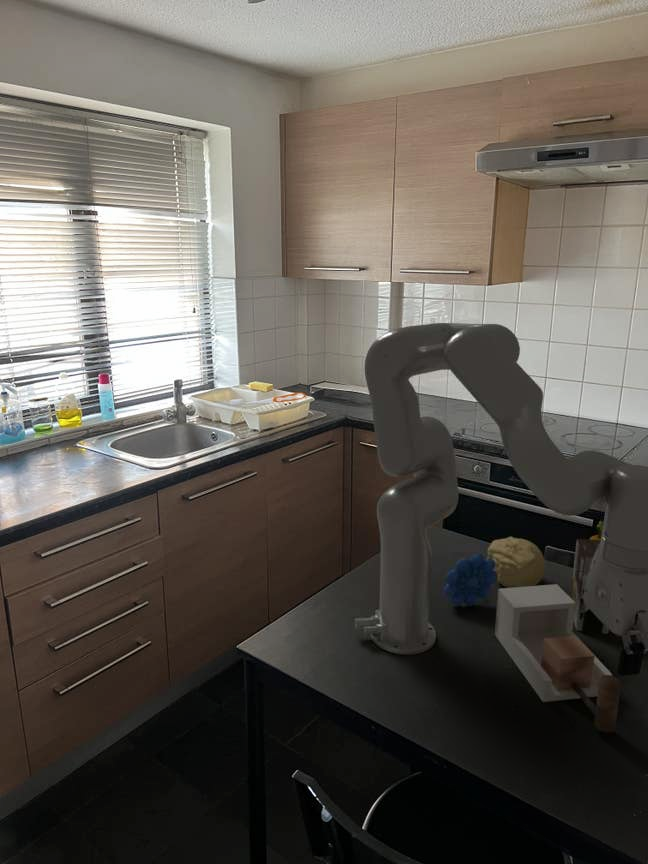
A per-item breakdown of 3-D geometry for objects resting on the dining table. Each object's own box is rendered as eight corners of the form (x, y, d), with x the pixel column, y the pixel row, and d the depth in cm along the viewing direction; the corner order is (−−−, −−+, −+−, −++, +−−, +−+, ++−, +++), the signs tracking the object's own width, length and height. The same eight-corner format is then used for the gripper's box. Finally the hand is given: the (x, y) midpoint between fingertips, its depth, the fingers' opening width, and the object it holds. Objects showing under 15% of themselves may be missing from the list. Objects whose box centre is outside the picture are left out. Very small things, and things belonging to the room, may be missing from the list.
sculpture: (478, 580, 147) (481, 537, 144) (511, 566, 154) (515, 524, 151) (519, 601, 138) (523, 555, 136) (552, 585, 145) (557, 541, 142)
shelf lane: (543, 701, 107) (548, 649, 105) (494, 634, 126) (498, 588, 124) (609, 694, 109) (616, 643, 106) (551, 629, 128) (556, 584, 125)
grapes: (487, 593, 142) (491, 543, 138) (499, 609, 135) (504, 557, 132) (436, 597, 140) (439, 546, 137) (446, 613, 134) (449, 561, 130)
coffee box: (610, 634, 126) (620, 560, 122) (575, 631, 128) (584, 556, 123) (600, 610, 135) (609, 539, 131) (568, 607, 136) (576, 537, 132)
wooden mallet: (591, 734, 98) (597, 689, 96) (540, 668, 114) (544, 628, 112) (627, 730, 99) (634, 685, 97) (572, 665, 115) (577, 625, 113)
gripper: (572, 526, 100) (557, 621, 105) (640, 583, 84) (619, 693, 89) (616, 524, 101) (599, 619, 106) (692, 580, 85) (668, 689, 90)
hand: (608, 652), depth 97 cm, fingers open, 9 cm apart
